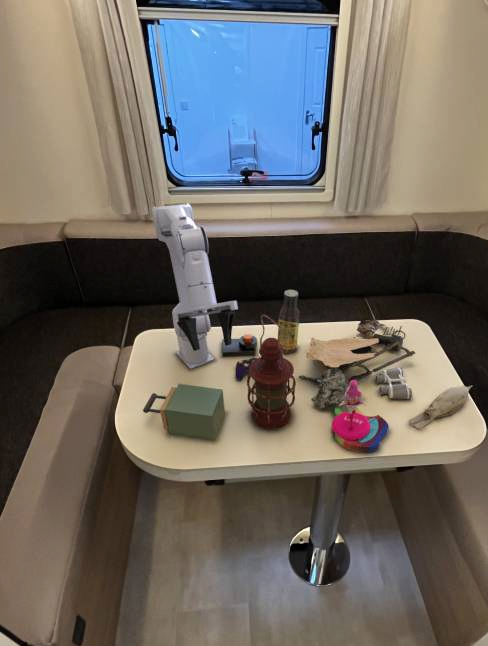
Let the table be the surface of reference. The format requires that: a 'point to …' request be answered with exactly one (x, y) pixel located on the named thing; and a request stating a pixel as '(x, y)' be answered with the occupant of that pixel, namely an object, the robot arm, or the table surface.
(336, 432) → the figurine
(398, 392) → the binoculars
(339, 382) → the rock
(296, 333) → the sauce bottle
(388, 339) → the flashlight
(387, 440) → the table surface
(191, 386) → the cabinet
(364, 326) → the oyster
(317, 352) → the tan craggy stone
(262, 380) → the lantern
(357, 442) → the decorative object
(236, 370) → the gaming controller
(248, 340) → the button
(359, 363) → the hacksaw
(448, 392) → the sculpture
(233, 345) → the button box
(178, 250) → the robot arm
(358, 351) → the phone
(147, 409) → the drawer
